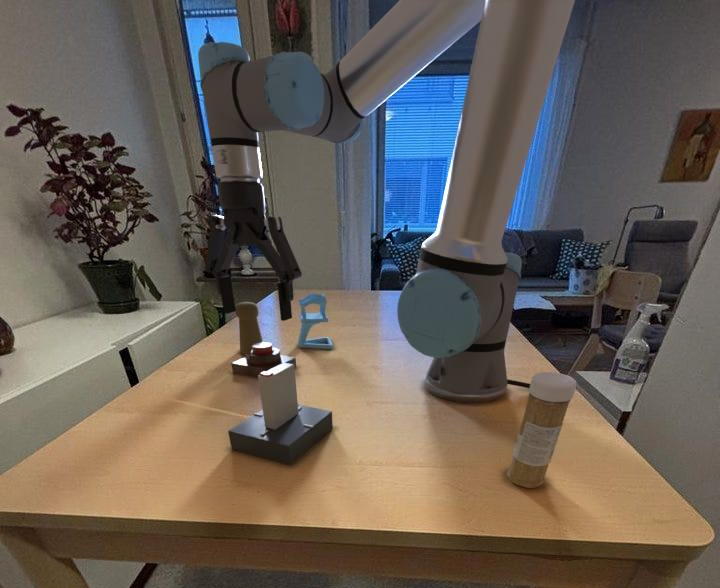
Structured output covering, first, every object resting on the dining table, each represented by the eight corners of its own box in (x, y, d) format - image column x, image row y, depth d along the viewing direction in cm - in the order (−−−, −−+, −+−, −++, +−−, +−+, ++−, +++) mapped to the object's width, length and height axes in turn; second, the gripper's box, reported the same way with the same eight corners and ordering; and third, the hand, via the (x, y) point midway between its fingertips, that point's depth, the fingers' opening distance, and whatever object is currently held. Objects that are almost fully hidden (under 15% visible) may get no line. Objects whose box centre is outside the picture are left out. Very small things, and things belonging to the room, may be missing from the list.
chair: (297, 342, 103) (293, 291, 96) (329, 340, 104) (327, 290, 97) (299, 350, 96) (295, 297, 90) (333, 348, 98) (331, 296, 91)
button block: (296, 367, 86) (294, 348, 84) (272, 380, 79) (270, 360, 77) (259, 361, 89) (256, 343, 87) (233, 373, 83) (229, 354, 80)
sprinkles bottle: (516, 466, 53) (542, 367, 46) (549, 479, 51) (584, 377, 43) (500, 479, 50) (525, 377, 43) (535, 494, 48) (569, 388, 40)
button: (276, 352, 83) (275, 343, 82) (265, 357, 80) (264, 348, 79) (261, 349, 85) (260, 341, 84) (249, 354, 82) (248, 346, 81)
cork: (259, 355, 93) (252, 305, 87) (235, 354, 94) (227, 304, 88) (269, 348, 98) (263, 300, 91) (246, 347, 99) (239, 299, 92)
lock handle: (288, 411, 60) (283, 360, 56) (298, 413, 59) (294, 362, 55) (265, 427, 55) (257, 373, 51) (275, 429, 55) (268, 375, 50)
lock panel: (333, 428, 62) (332, 410, 60) (291, 465, 53) (289, 445, 51) (279, 416, 65) (277, 398, 64) (231, 449, 56) (227, 429, 55)
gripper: (166, 181, 67) (195, 313, 79) (291, 178, 59) (301, 326, 71) (198, 183, 73) (220, 306, 85) (316, 181, 64) (322, 318, 76)
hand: (257, 315), depth 78 cm, fingers open, 13 cm apart
